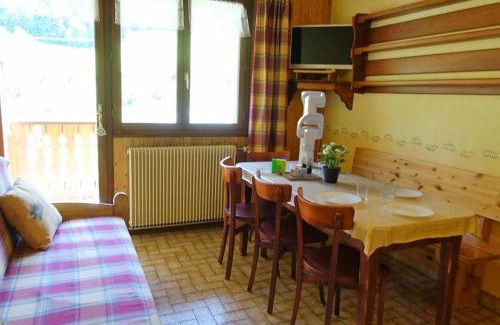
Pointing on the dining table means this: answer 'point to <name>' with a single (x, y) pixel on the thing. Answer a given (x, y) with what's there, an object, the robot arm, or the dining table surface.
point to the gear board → (297, 176)
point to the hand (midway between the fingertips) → (306, 172)
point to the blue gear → (305, 173)
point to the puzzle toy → (278, 165)
